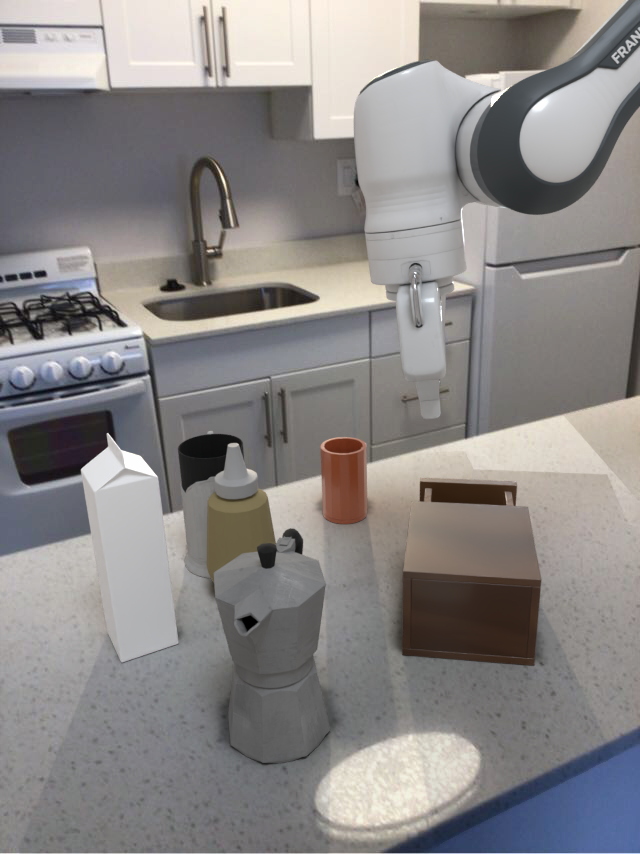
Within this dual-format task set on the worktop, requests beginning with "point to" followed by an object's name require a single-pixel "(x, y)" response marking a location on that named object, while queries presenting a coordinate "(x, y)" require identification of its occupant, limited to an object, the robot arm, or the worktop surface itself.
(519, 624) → the cabinet
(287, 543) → the coffeepot
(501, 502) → the drawer
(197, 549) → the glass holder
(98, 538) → the milk
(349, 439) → the cup
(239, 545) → the squeeze bottle
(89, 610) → the worktop surface
